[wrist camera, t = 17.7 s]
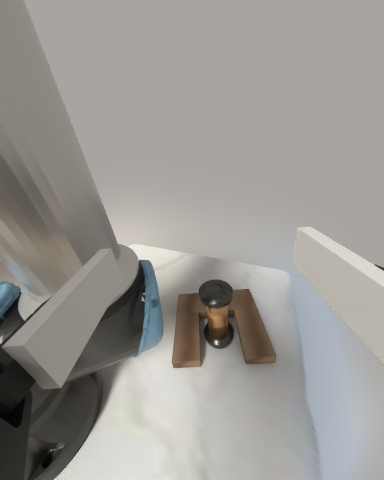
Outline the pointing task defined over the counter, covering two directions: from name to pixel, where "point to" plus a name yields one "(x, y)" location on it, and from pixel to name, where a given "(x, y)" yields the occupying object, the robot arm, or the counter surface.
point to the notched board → (240, 307)
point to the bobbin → (217, 312)
